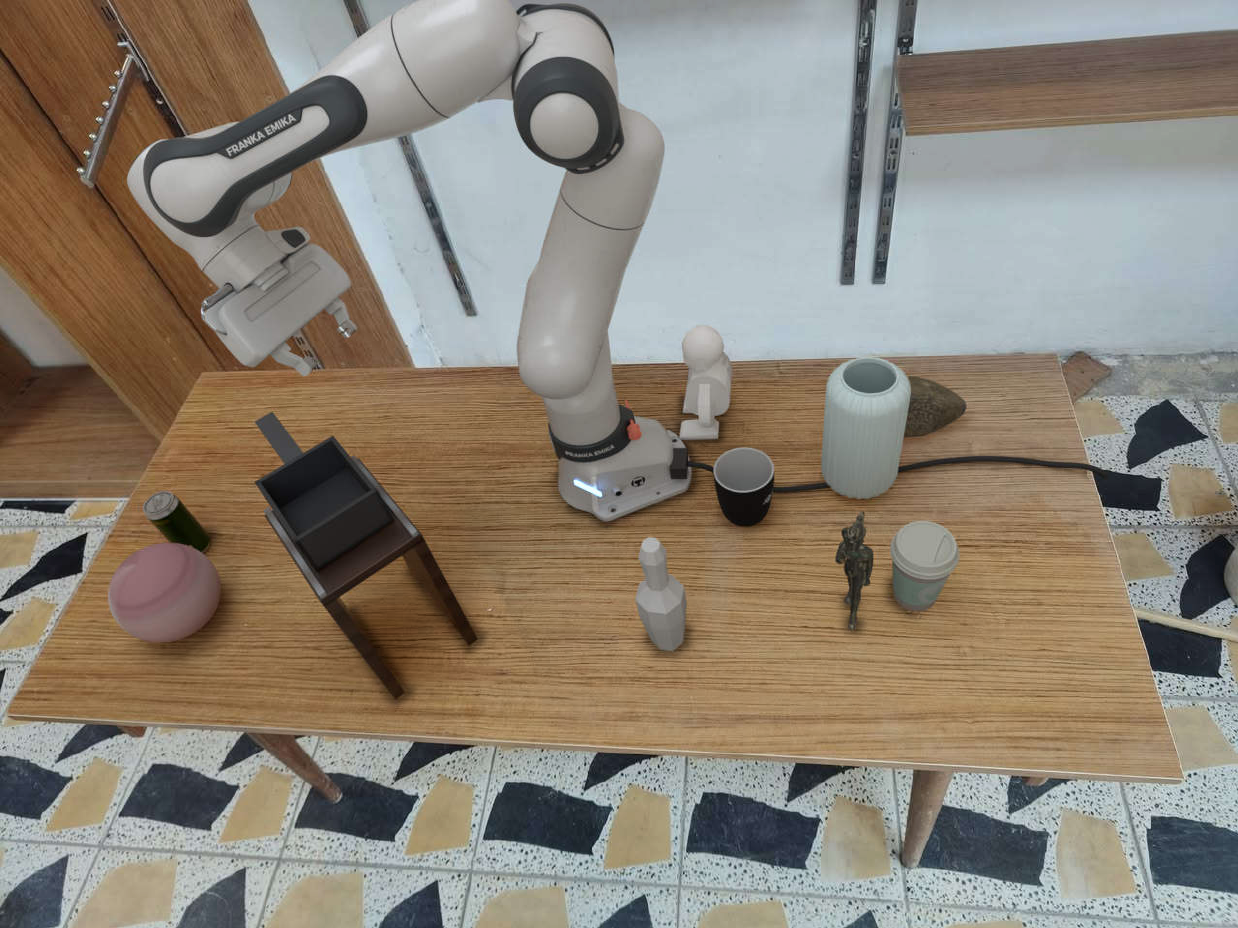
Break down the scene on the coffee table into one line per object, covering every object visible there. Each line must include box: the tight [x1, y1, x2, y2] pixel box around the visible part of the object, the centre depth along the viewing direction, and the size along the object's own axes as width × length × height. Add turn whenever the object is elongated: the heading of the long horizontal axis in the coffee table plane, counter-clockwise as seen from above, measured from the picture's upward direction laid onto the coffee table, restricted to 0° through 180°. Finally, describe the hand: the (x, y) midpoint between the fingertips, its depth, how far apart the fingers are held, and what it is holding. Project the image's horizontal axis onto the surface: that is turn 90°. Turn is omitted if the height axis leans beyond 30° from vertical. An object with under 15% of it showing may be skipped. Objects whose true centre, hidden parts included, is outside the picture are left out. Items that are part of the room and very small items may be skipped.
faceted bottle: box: [635, 536, 688, 652], centre depth 107 cm, size 6×6×22 cm
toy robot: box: [678, 324, 733, 441], centre depth 135 cm, size 14×9×20 cm, turn 171°
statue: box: [835, 510, 874, 631], centre depth 106 cm, size 5×6×20 cm
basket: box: [254, 411, 394, 571], centre depth 105 cm, size 24×11×6 cm, turn 39°
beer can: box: [142, 490, 212, 554], centre depth 136 cm, size 5×5×12 cm
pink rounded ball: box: [107, 542, 222, 644], centre depth 124 cm, size 15×15×15 cm
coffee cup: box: [889, 520, 960, 612], centre depth 110 cm, size 8×8×12 cm
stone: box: [904, 375, 968, 438], centre depth 133 cm, size 17×9×8 cm, turn 93°
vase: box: [820, 356, 911, 501], centre depth 121 cm, size 12×12×22 cm
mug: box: [712, 446, 775, 528], centre depth 125 cm, size 12×9×10 cm
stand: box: [263, 454, 479, 700], centre depth 113 cm, size 18×14×27 cm
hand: (332, 352), depth 106 cm, fingers open, 8 cm apart
